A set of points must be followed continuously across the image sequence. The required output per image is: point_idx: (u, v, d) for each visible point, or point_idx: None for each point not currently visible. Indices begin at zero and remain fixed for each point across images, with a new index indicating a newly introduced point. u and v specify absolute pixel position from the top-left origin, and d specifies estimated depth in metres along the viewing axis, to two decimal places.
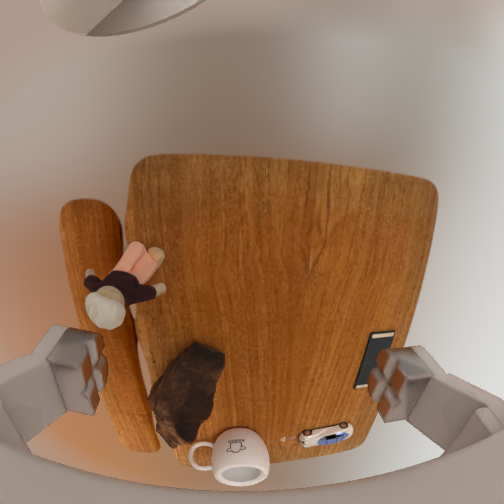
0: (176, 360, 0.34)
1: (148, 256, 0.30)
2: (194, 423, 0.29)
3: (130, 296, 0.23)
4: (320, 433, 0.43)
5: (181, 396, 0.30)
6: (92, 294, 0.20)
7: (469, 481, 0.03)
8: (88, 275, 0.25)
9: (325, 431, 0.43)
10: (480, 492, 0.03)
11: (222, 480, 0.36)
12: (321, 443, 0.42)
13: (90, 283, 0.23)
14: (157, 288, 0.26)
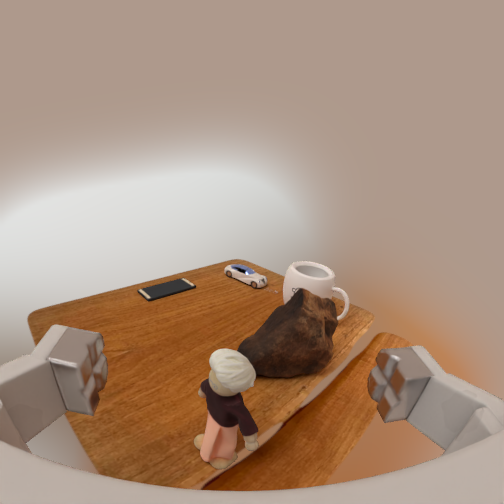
0: (276, 370, 0.35)
1: None
2: (289, 304, 0.36)
3: None
4: (246, 278, 0.60)
5: (281, 327, 0.34)
6: (221, 379, 0.19)
7: (469, 481, 0.03)
8: (246, 437, 0.20)
9: (242, 277, 0.60)
10: (480, 492, 0.03)
11: (330, 273, 0.50)
12: (251, 271, 0.61)
13: (242, 419, 0.20)
14: (200, 387, 0.24)
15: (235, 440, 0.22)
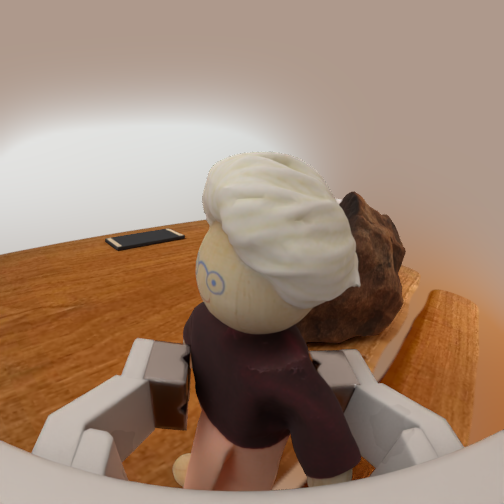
0: (319, 330, 0.20)
1: None
2: None
3: None
4: None
5: None
6: (244, 223, 0.04)
7: (469, 481, 0.03)
8: (322, 481, 0.05)
9: None
10: (480, 492, 0.03)
11: None
12: None
13: (314, 422, 0.05)
14: None
15: (272, 480, 0.07)
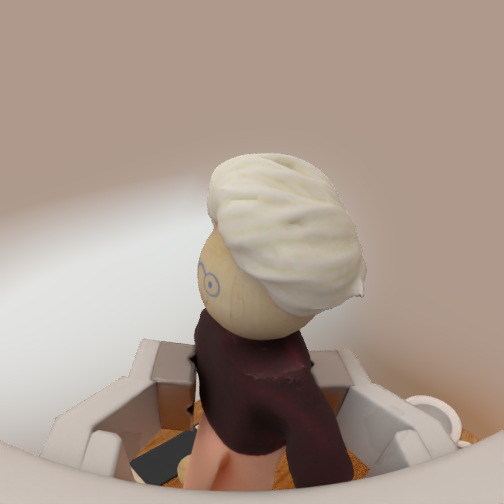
0: None
1: None
2: None
3: None
4: None
5: None
6: (236, 225, 0.04)
7: (469, 481, 0.03)
8: None
9: None
10: (480, 492, 0.03)
11: (455, 420, 0.22)
12: None
13: (305, 435, 0.05)
14: None
15: (268, 488, 0.07)
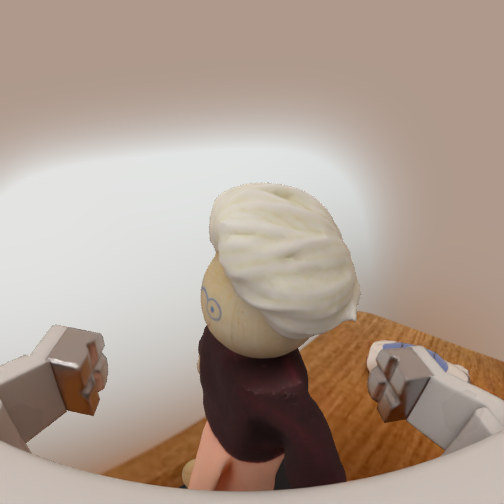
0: None
1: None
2: None
3: None
4: None
5: None
6: (235, 259, 0.05)
7: (469, 481, 0.03)
8: None
9: None
10: (480, 492, 0.03)
11: None
12: (442, 361, 0.18)
13: (300, 446, 0.05)
14: None
15: None
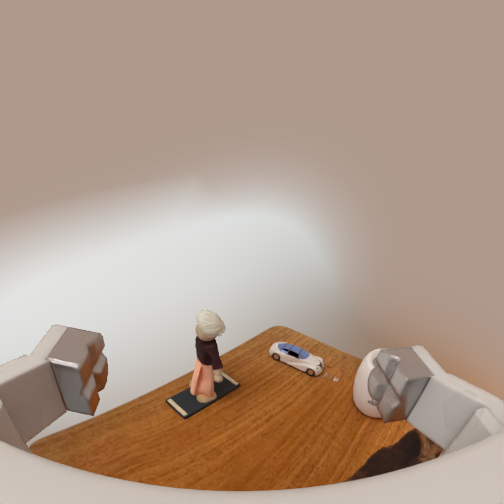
0: None
1: None
2: (398, 449, 0.21)
3: None
4: (300, 363, 0.45)
5: None
6: (200, 326, 0.33)
7: (469, 481, 0.03)
8: (214, 370, 0.33)
9: (294, 362, 0.45)
10: (480, 492, 0.03)
11: None
12: (305, 353, 0.46)
13: (212, 357, 0.33)
14: None
15: (211, 378, 0.35)
